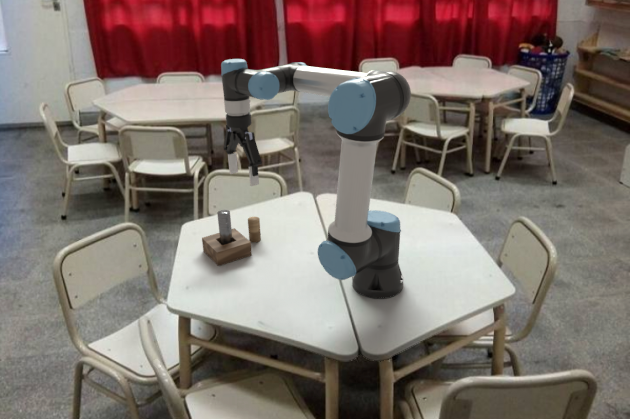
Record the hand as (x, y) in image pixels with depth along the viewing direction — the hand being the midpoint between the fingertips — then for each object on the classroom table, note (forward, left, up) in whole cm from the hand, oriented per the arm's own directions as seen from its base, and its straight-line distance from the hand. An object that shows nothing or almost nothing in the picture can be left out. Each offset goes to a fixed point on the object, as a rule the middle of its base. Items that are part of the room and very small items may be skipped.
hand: (243, 178), depth 174 cm
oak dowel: (+5, -5, -26) cm, 27 cm away
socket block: (+2, +7, -26) cm, 27 cm away
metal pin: (+2, +7, -25) cm, 26 cm away
